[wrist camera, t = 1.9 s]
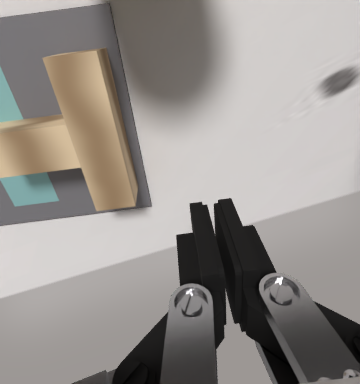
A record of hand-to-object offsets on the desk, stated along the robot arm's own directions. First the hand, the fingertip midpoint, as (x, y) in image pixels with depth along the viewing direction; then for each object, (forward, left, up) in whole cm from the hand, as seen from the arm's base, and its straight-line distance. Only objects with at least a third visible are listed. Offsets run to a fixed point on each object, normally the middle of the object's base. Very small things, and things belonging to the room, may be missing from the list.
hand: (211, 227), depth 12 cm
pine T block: (+12, 0, -17) cm, 21 cm away
